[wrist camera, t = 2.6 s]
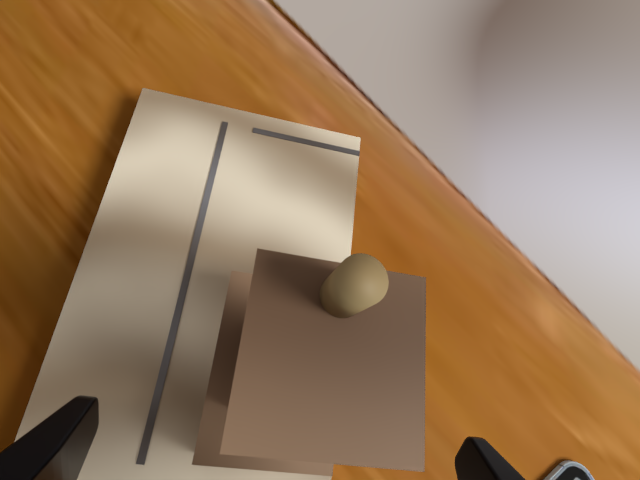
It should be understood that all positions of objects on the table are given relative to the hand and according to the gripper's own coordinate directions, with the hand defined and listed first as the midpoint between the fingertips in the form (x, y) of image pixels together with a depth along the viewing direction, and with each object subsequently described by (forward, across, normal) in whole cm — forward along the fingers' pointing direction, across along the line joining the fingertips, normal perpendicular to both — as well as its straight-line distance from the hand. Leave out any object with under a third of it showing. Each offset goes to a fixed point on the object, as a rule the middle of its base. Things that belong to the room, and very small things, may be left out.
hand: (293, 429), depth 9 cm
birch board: (+10, +3, +2) cm, 11 cm away
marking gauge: (+6, 0, +4) cm, 8 cm away
